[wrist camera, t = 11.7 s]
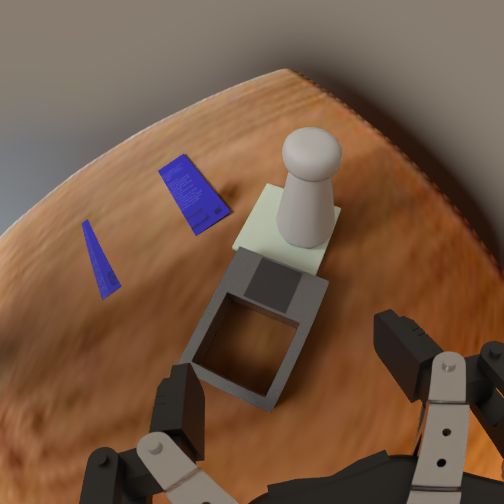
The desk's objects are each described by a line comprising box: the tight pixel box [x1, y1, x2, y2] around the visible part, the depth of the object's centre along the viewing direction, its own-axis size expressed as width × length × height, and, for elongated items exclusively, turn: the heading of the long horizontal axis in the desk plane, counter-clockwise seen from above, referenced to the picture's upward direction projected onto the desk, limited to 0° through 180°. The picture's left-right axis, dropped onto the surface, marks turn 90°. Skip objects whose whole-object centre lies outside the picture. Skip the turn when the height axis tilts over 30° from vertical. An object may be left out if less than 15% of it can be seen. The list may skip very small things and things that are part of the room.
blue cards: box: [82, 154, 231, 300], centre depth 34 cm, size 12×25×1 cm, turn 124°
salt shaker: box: [276, 127, 342, 249], centre depth 25 cm, size 6×6×13 cm
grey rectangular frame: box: [177, 246, 330, 413], centre depth 26 cm, size 9×12×3 cm
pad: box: [232, 183, 341, 276], centre depth 31 cm, size 9×9×1 cm
